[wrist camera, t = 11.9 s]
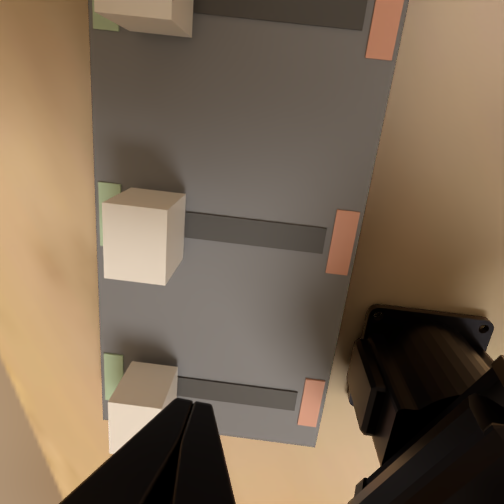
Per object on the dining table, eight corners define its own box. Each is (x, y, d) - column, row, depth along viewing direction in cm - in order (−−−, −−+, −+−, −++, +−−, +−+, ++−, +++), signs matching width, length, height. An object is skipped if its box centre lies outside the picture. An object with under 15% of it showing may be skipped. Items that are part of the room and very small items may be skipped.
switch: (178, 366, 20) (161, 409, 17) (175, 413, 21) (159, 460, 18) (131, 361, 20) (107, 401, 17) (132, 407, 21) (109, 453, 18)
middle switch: (186, 193, 17) (167, 210, 14) (183, 258, 18) (164, 285, 15) (131, 187, 17) (101, 202, 14) (131, 252, 18) (104, 278, 15)
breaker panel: (414, -91, 15) (435, -122, 13) (311, 420, 23) (315, 448, 21) (106, -121, 15) (81, -156, 13) (117, 395, 24) (102, 420, 22)
